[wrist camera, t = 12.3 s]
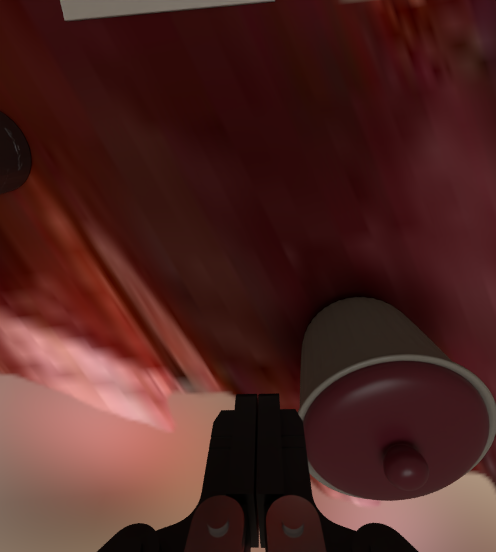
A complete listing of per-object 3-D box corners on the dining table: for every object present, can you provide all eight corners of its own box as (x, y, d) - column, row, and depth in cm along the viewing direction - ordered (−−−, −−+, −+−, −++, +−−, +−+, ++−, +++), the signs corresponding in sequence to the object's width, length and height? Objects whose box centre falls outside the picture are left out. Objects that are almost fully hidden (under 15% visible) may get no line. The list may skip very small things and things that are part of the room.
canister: (402, 251, 42) (518, 364, 23) (435, 364, 49) (547, 526, 29) (263, 303, 46) (262, 438, 27) (311, 401, 52) (338, 567, 33)
